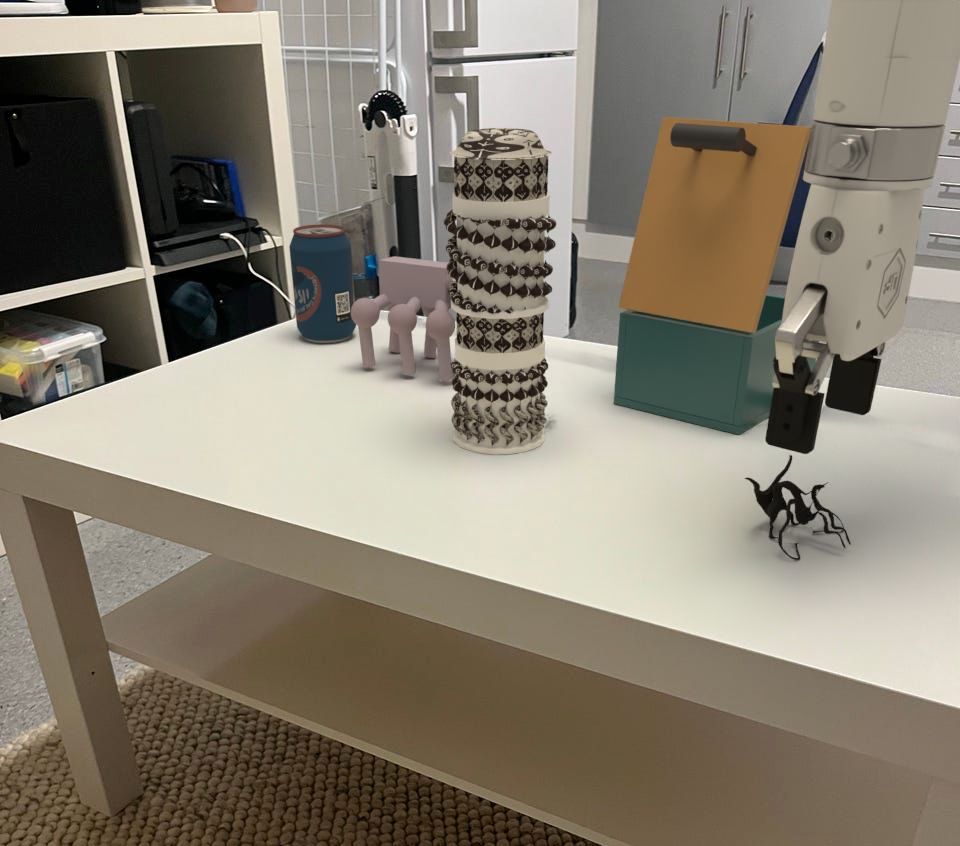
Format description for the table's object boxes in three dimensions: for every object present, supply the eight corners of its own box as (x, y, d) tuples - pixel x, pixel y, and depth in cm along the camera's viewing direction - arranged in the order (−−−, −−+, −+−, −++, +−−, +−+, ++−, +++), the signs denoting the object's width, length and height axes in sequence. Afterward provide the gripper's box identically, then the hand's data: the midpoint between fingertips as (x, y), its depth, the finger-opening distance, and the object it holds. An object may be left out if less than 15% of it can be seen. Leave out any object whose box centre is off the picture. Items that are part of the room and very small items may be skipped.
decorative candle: (460, 460, 87) (455, 139, 74) (439, 423, 95) (431, 126, 82) (561, 451, 89) (574, 136, 76) (533, 416, 97) (541, 123, 83)
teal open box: (691, 366, 110) (700, 282, 105) (810, 391, 103) (826, 302, 98) (613, 403, 100) (619, 312, 95) (739, 435, 92) (753, 338, 88)
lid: (666, 119, 90) (638, 100, 86) (811, 129, 83) (788, 109, 79) (622, 308, 95) (592, 300, 91) (755, 333, 88) (730, 325, 84)
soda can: (286, 336, 120) (275, 229, 113) (332, 325, 124) (324, 221, 118) (322, 348, 116) (312, 237, 109) (369, 336, 120) (362, 228, 113)
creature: (864, 548, 76) (777, 496, 79) (895, 488, 72) (801, 436, 76) (811, 584, 71) (720, 527, 75) (840, 522, 67) (743, 465, 71)
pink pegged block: (556, 371, 108) (561, 237, 101) (511, 400, 101) (513, 257, 93) (398, 346, 116) (392, 220, 109) (345, 371, 109) (335, 237, 101)
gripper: (879, 177, 53) (819, 480, 62) (979, 149, 65) (916, 408, 74) (748, 164, 57) (710, 451, 66) (864, 140, 69) (818, 387, 78)
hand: (818, 428), depth 70 cm, fingers open, 9 cm apart
